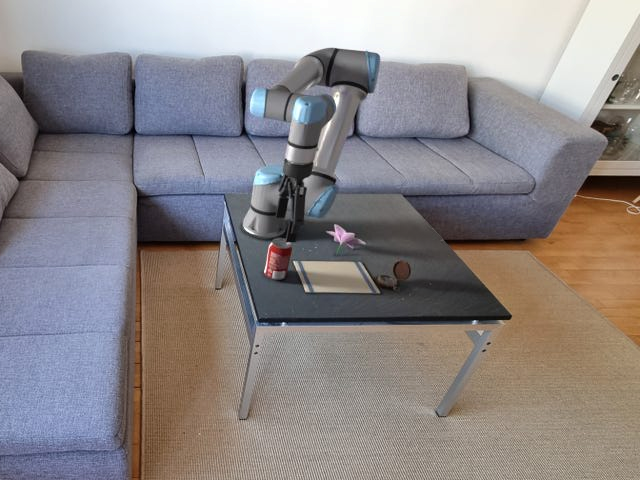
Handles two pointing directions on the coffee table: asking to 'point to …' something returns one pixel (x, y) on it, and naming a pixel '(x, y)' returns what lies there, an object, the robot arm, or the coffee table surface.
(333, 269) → the cloth
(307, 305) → the coffee table surface
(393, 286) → the compass
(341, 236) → the lily
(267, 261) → the soda can
